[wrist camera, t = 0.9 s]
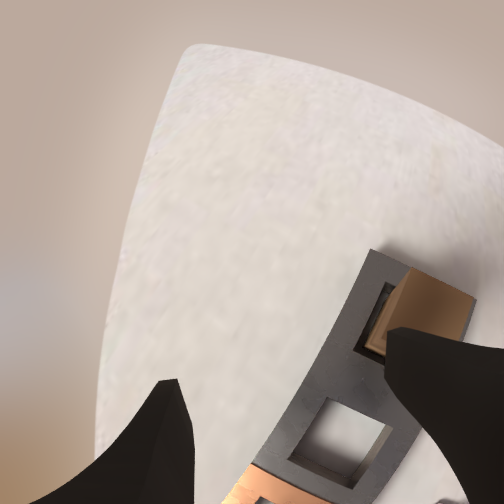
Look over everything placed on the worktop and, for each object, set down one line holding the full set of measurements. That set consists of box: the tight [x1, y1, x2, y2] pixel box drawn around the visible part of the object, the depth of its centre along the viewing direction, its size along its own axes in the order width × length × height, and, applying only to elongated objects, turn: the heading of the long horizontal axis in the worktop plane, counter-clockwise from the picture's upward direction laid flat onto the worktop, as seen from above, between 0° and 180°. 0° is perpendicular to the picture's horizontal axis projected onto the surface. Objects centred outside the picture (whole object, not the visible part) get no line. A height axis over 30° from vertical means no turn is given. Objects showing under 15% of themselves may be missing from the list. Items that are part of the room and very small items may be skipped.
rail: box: [221, 249, 477, 504], centre depth 19 cm, size 9×27×3 cm, turn 150°
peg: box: [362, 267, 474, 358], centre depth 18 cm, size 4×4×9 cm
